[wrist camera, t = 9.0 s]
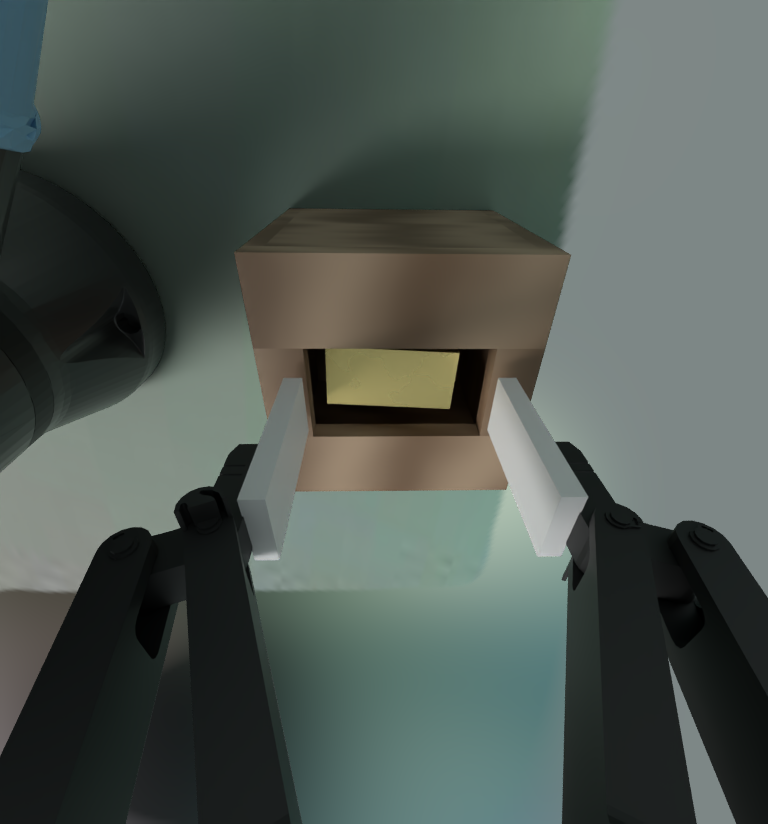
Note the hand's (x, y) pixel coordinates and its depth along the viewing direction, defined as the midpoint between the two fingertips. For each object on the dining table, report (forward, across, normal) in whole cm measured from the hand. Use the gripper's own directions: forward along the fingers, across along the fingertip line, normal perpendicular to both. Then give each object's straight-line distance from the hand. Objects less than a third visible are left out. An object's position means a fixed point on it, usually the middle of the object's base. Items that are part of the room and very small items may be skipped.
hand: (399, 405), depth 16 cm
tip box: (+12, 0, 0) cm, 12 cm away
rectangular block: (+11, 0, 0) cm, 11 cm away
